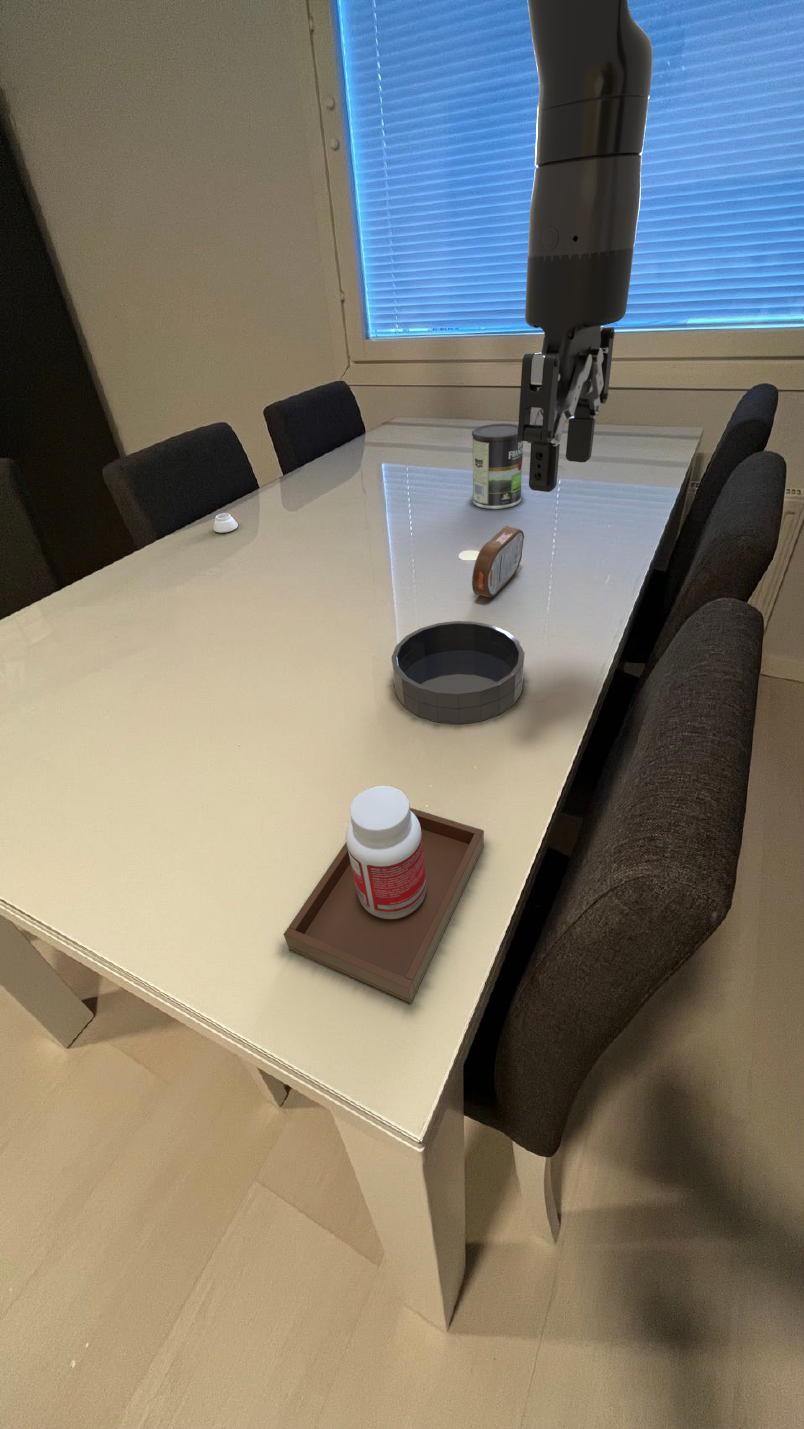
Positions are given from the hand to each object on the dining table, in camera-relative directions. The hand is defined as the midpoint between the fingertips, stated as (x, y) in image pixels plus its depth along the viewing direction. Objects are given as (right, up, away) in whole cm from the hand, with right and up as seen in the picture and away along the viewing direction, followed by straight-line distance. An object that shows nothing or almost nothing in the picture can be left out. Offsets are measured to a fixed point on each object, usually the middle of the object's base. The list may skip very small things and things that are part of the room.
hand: (561, 474), depth 54 cm
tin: (+2, -1, +45) cm, 45 cm away
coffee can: (+6, +24, +74) cm, 78 cm away
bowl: (-7, -18, +24) cm, 31 cm away
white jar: (-52, +18, +74) cm, 92 cm away
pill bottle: (-15, -37, 0) cm, 40 cm away
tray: (-15, -38, 0) cm, 41 cm away
